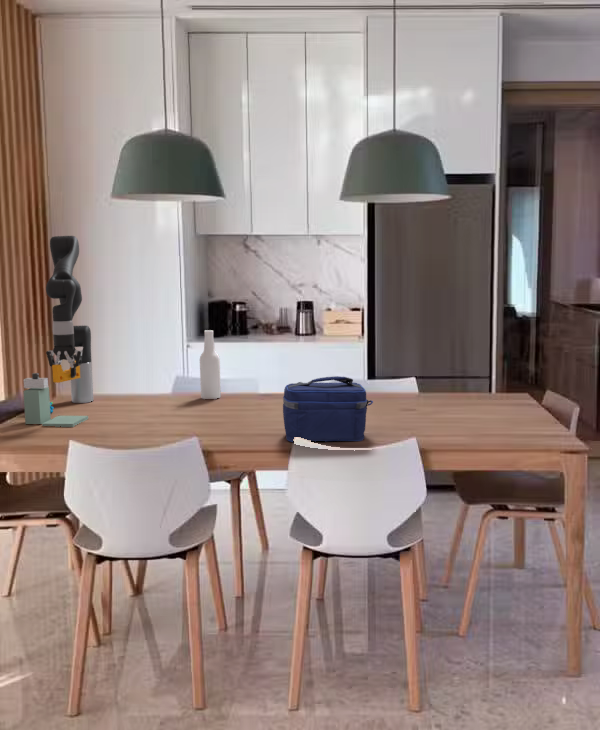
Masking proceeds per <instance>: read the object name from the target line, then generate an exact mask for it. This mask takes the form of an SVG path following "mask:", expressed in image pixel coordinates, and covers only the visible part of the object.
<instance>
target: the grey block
mask: <svg viewBox="0 0 600 730" xmlns="http://www.w3.org/2000/svg"><path fill="white" fill-rule="evenodd" d="M39 375H40V373H39V372H33V373H31V377H26V378H24V379H23V389H30V388H46V387H49V378H48V377H40V376H39Z"/></svg>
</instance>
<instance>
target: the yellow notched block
mask: <svg viewBox="0 0 600 730" xmlns="http://www.w3.org/2000/svg"><path fill="white" fill-rule="evenodd" d="M75 363H76V361H75ZM51 367H52V368H51V369H52V382H53V383H58V384H59V383H63V382H67V381H68V382H69V381H71V380H73V379H77V378H80V366H77V367H76V376H75V377H74V378H71V366H70V365H69V369H65V370H64V369H63V366H62V364H60V365H52V366H51Z"/></svg>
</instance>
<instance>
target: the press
mask: <svg viewBox="0 0 600 730" xmlns="http://www.w3.org/2000/svg"><path fill="white" fill-rule="evenodd" d="M50 400H51V399H50V387H49V386H48V387H46V388H26V389H25V390H23V402H24V403H23V405H24V407H23V408H24V420H25V422H24V423H25V425H26V424H42V425H41V426H55V427H54V428H74V427H76V426H77V424H78V425H80V424H82V423H83V422H85V421H87V420H89V415H58V416H55V417H53V418H52V415H51V414H52V413H50V402H51V401H50ZM81 422H82V423H81ZM79 423H80V424H79ZM75 425H76V426H75ZM60 426H61V427H60Z"/></svg>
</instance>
